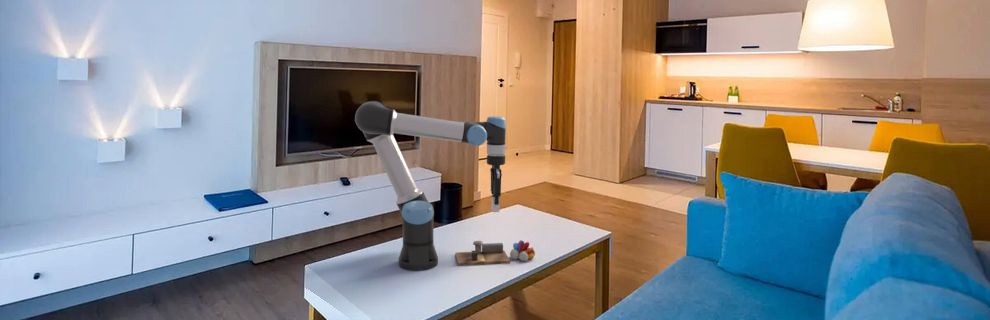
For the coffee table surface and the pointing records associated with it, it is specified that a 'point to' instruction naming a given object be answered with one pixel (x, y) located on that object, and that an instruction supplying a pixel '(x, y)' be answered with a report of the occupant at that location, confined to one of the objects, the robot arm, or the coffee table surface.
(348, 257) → the coffee table surface
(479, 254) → the board
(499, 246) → the bar
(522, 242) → the multicolored petal toy
